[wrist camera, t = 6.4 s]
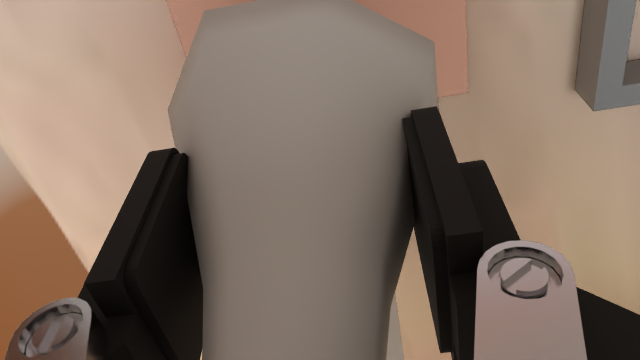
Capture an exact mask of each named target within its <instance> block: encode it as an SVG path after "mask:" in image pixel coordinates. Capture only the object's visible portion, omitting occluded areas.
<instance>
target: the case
mask: <svg viewBox="0 0 640 360" xmlns="http://www.w3.org/2000/svg"><path fill="white" fill-rule="evenodd" d="M635 6H636V0H585V3H584V12H583V21H582V30H581V39H580V48H579V57H578V66H577V75H576V84H575V91H576V92H577V93H578V94H579V95H580V96H581V98H582V99H583V100H584V101H585V102H586V103H587V104H588V106H589V107H590V108H591V109H592V110H593V111H599V110H606V109H612V108H619V107H625V106H632V105H638V104H640V59H639V60H632V61H626V60H627V54H628V48H629V42H630V36H631V30H632V24H633V18H634V12H635Z"/></svg>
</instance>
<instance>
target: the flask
mask: <svg viewBox="0 0 640 360" xmlns="http://www.w3.org/2000/svg"><path fill="white" fill-rule="evenodd" d="M434 106H437V108H438V110H439V106H438V90H437V74H436V58H435V42H434V41H432V40H430V39H428V38H426V37H424V36H422V35H420V34H418V33H416V32H414V31H412V30H410V29H408V28H406V27H404V26H402V25H400V24H398V23H396V22H394V21H392V20H390V19H388V18H386V17H384V16H382V15H380V14H378V13H376V12H374V11H373V10H371V9H369V8H367V7H365V6H363V5H361V4H359V3H357V2H355V1H353V0H257V1H252V2H247V3H241V4H236V5H231V6H226V7H220V8H215V9H210V10H205V11H203V14H202V17H201V20H200V22H199V25H198V28H197V31H196V33H195V36H194V39H193V42H192V45H191V47H190V50H189V53H188V56H187V58H186V61H185V64H184V67H183V69H182V72H181V75H180V78H179V81H178V83H177V86H176V89H175V92H174V94H173V97H172V100H171V103H170V105H169V108H168V113H169V119H170V124H171V130H172V134H173V138H174V143H175V147H176V149H177V150H178V151H179V153H186V154H187V156H188V181H187V199H188V205H189V211H190V216H191V222H192V228H193V233H194V239H195V245H196V250H197V256H198V262H199V267H200V273H201V279H202V284H203V345H202V360H386V355H387V344H388V332H389V320H390V309H391V304H392V300H393V297H394V293H395V290H396V286H397V283H398V279H399V276H400V272H401V269H402V265H403V262H404V258H405V255H406V251H407V247H408V244H409V240H410V237H411V233H412V230H413V226H414V223H415V216H414V206H413V196H412V187H411V177H410V168H409V158H408V148H407V142H406V137H405V131H404V126H403V120H402V118H407V117H411V110H415V109H422V108H428V107H434Z"/></svg>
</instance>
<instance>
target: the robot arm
mask: <svg viewBox="0 0 640 360" xmlns="http://www.w3.org/2000/svg"><path fill="white" fill-rule="evenodd" d="M402 120H403V126H404V131H405V137H406V142H407V148H408V158H409V168H410V177H411V187H412V196H413V206H414V216H415V223H414V231H415V236H416V240H417V245H418V250H419V255H420V260H421V264H422V269H423V274H424V279H425V283H426V288H427V293H428V298H429V302H430V307H431V312H432V317H433V321H434V326H435V331H436V336H437V341H438V345H439V350H440V353H446V352H451V355H452V360H640V315H639V314H636V313H634V312H632V311H630V310H627V309H625V308H623V307H620V306H618V305H616V304H614V303H611V302H609V301H607V300H605V299H602V298H600V297H598V296H596V295H593V294H591V293H589V292H587V291H584V290H582V289H580V288H578V287H576V283H575V276H574V272H573V270H572V267H571V265H570V263H569V262H568V261H567V260H566V258H565V257H564V256H563V255H562V254H560V253H559V252H557V251H556V250H554V249H553V248H551V247H549V246H546V245H543V244H541V243H538V242H532V241H525V240H520V238H519V236H518V234H517V231H516V229H515V227H514V225H513V222H512V220H511V218H510V216H509V213H508V211H507V209H506V207H505V204H504V202H503V200H502V198H501V195H500V193H499V191H498V189H497V186H496V184H495V182H494V180H493V177H492V175H491V173H490V171H489V168H488V166H487V164H486V163H485V161H484V160H478V161H471V162H464V163H458V162H457V159H456V156H455V154H454V151H453V148H452V146H451V143H450V140H449V137H448V135H447V132H446V129H445V127H444V124H443V121H442V118H441V116H440V113H439V110H438V108H437V106H434V107H428V108H422V109H415V110H411V117H407V118H402ZM187 181H188V156H187V154H186V153H179V151H178V150H177V149H176V148H170V149H164V150H158V151H152V152H149V153H148V155H147V157H146V159H145V161H144V163H143V165H142V167H141V169H140V171H139V173H138V175H137V177H136V179H135V181H134V183H133V185H132V187H131V189H130V191H129V193H128V195H127V197H126V199H125V201H124V203H123V205H122V207H121V209H120V211H119V213H118V216H117V218H116V220H115V222H114V224H113V226H112V228H111V230H110V232H109V234H108V236H107V238H106V240H105V242H104V244H103V246H102V248H101V250H100V252H99V254H98V256H97V258H96V260H95V262H94V264H93V266H92V268H91V270H90V272H89V274H88V276H87V278H86V281H85V283H84V286H83V288H82V290H81V292H80V294H79V296H78V298H65V299H60V300H57V301H54V302H52V303H49V304H47V305H45V306H43V307H41V308H40V309H38V310H37V311H35V312H33V313H32V314H31V315H30V316H29V317H28V318H27V319H25V320H24V321H23V322H22V323H21V325H20V326H19V327H18V328H17V330H16V331H15V332H14V334H13V336H12V339H11V341H10V343H9V346H8V350H7V353H6V356H5V360H200V356H201V352H202V345H203V284H202V279H201V273H200V267H199V262H198V256H197V250H196V245H195V239H194V233H193V228H192V222H191V216H190V211H189V205H188V199H187Z"/></svg>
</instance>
